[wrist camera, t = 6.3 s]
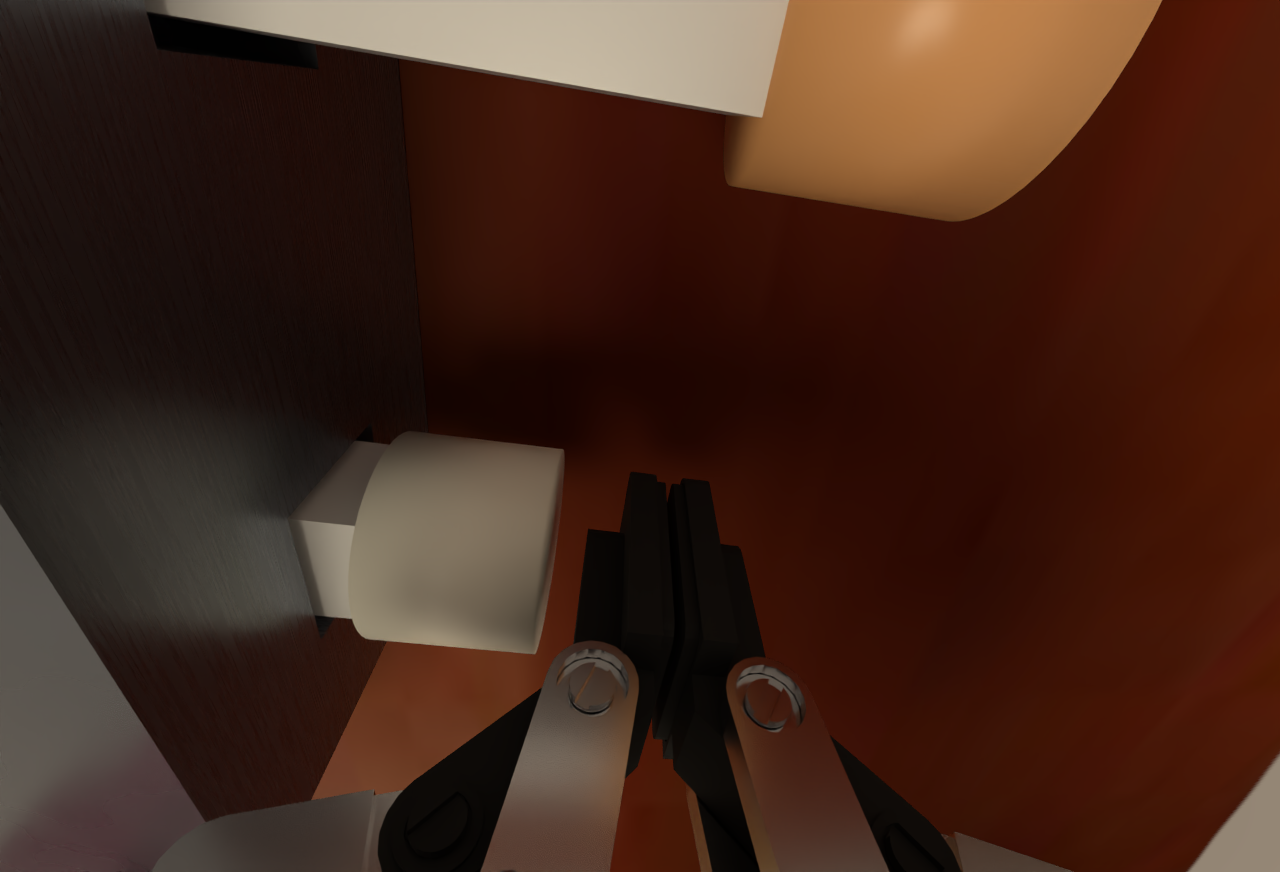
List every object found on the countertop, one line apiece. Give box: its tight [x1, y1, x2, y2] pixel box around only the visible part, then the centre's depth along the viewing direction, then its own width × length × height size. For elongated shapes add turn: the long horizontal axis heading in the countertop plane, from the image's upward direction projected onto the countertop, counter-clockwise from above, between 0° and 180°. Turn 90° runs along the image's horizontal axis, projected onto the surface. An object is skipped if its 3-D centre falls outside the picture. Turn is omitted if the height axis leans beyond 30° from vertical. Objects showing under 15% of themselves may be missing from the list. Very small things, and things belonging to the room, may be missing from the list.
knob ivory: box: [288, 431, 564, 654], centre depth 10 cm, size 11×4×4 cm, turn 82°
